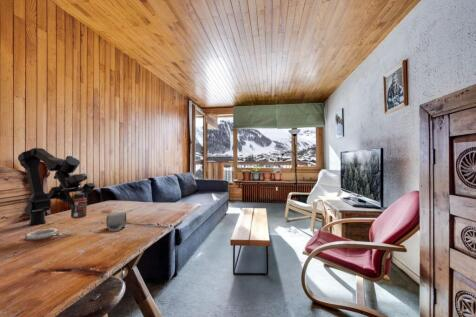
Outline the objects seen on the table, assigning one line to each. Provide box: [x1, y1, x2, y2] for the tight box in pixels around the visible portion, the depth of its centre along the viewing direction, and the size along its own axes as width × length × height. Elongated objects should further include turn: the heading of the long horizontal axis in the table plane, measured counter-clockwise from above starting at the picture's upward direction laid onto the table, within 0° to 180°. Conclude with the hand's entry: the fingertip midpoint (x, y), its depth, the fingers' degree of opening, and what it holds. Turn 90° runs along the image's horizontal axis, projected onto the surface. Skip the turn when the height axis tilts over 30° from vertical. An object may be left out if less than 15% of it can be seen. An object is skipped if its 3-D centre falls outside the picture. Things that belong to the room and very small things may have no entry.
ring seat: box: [24, 228, 60, 241], centre depth 95 cm, size 11×11×2 cm
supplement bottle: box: [70, 192, 88, 219], centre depth 101 cm, size 6×6×11 cm
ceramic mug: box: [106, 211, 127, 233], centre depth 105 cm, size 11×8×8 cm
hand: (81, 203), depth 101 cm, fingers closed on supplement bottle, 6 cm apart
